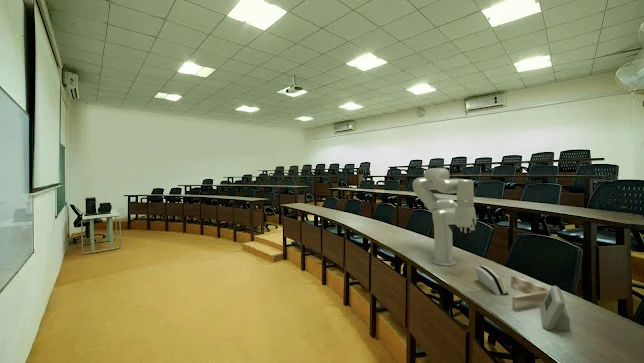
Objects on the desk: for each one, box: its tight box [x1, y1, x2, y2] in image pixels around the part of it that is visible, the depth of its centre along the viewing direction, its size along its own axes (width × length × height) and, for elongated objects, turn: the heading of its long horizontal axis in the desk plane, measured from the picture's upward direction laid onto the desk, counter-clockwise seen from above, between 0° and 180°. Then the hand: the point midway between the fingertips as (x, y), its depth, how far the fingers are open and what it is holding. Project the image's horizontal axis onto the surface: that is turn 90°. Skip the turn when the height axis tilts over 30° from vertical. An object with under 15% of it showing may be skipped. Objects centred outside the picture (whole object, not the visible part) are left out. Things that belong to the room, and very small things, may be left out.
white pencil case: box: [474, 265, 511, 296], centre depth 124 cm, size 17×5×10 cm, turn 176°
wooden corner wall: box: [510, 275, 551, 312], centre depth 113 cm, size 18×20×5 cm
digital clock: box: [539, 285, 571, 332], centre depth 94 cm, size 16×9×11 cm, turn 132°
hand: (465, 240), depth 137 cm, fingers closed
